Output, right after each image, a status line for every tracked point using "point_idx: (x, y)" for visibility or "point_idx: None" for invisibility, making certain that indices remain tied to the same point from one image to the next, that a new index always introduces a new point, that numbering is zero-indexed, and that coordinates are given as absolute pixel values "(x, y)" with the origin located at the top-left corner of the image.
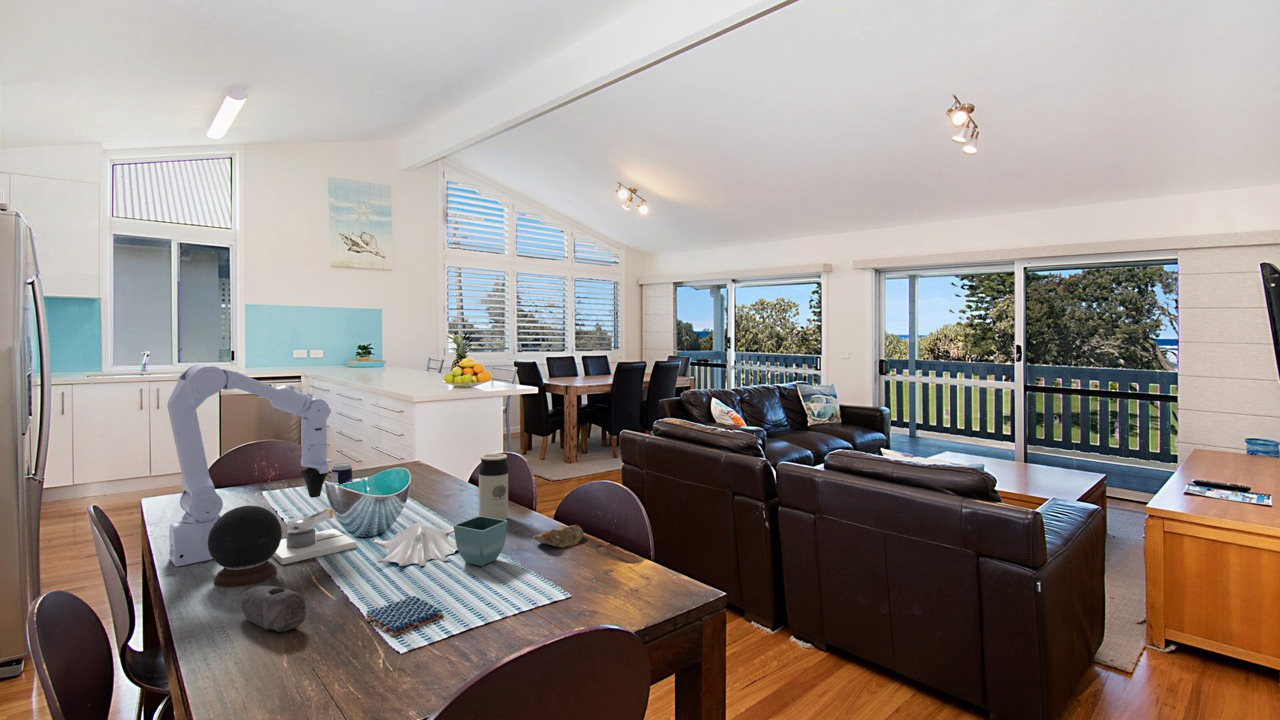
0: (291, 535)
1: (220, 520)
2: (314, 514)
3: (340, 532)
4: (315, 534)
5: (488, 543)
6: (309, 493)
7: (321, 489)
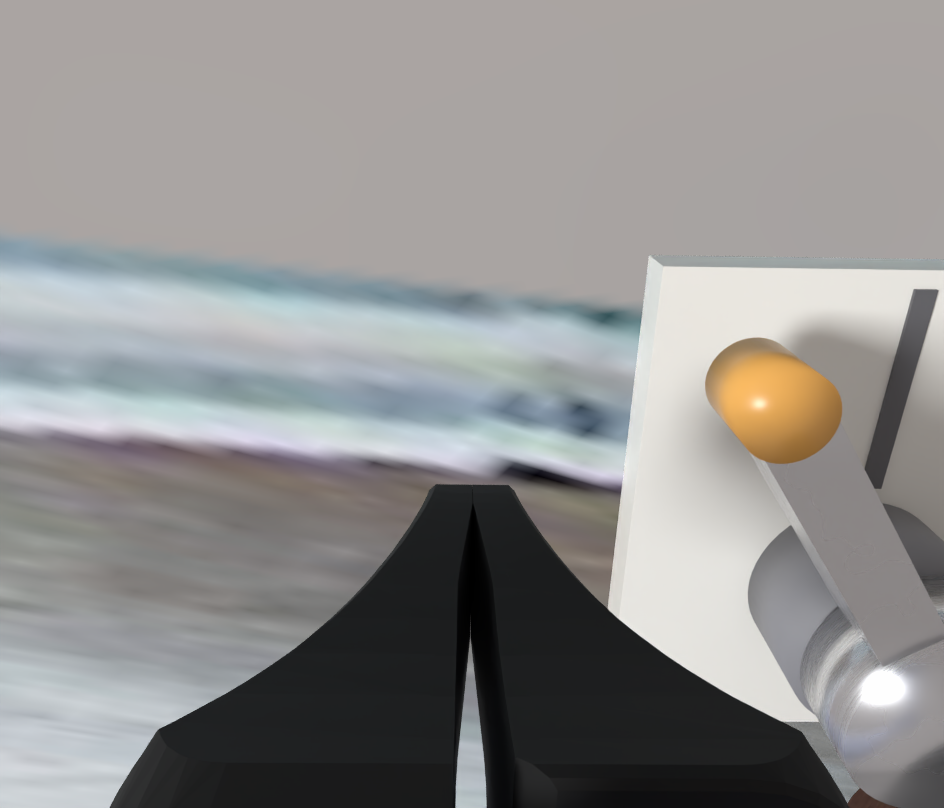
0: None
1: None
2: (840, 582)
3: (828, 271)
4: (700, 442)
5: None
6: (472, 638)
7: (535, 527)
